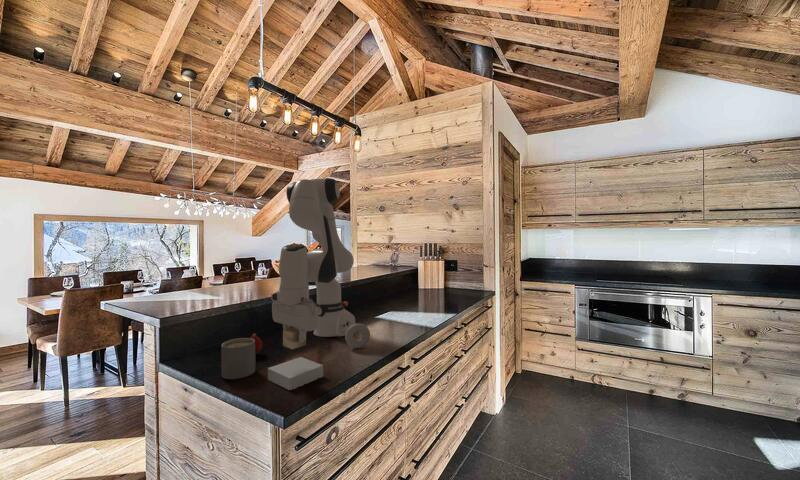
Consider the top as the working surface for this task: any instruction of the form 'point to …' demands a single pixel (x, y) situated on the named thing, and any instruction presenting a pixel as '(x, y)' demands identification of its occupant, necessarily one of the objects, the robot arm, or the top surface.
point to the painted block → (295, 373)
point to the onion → (257, 343)
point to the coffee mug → (238, 358)
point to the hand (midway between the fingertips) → (294, 340)
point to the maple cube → (292, 338)
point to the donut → (352, 330)
